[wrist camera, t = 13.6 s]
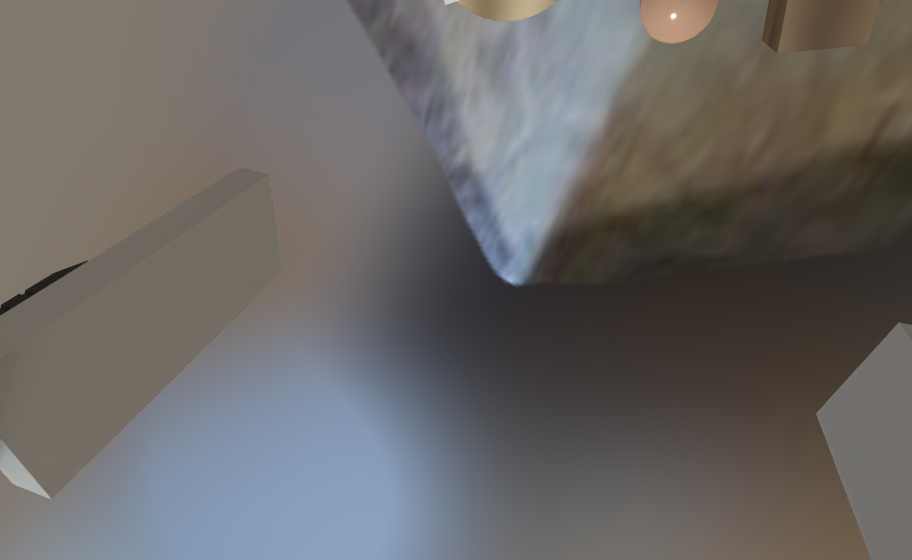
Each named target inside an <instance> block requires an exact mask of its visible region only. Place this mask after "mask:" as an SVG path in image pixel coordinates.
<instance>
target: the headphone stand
mask: <svg viewBox="0 0 912 560" xmlns="http://www.w3.org/2000/svg"><path fill="white" fill-rule="evenodd" d="M455 1H458V0H444V2H445V5H446V4H449V3H452V2H455Z"/></svg>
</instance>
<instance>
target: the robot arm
mask: <svg viewBox="0 0 912 560" xmlns="http://www.w3.org/2000/svg"><path fill="white" fill-rule="evenodd" d="M283 270H284V266H283V259H282V253H281V247H280V241H279V234H278V228H277V222H276V215H275V209H274V203H273V196H272V190H271V184H270V178H269V174H265V173H261V172H257V171H253V170H248V169H244V168H238V169H237V170H235V171H233V172H232V173H230V174H229V175H227V176H225V177H224V178H222V179H221V180H219V181H217V182H216V183H214V184H212V185H211V186H209V187H208V188H206V189H204V190H203V191H201V192H200V193H198V194H196V195H195V196H193V197H192V198H190V199H188V200H187V201H185V202H183V203H182V204H180V205H178V206H177V207H175V208H174V209H172V210H170V211H169V212H167V213H166V214H164V215H162V216H161V217H159V218H158V219H156V220H154V221H153V222H151V223H149V224H148V225H146V226H145V227H143V228H142V229H140V230H138V231H136V232H135V233H133V234H132V235H130V236H128V237H127V238H125V239H123V240H122V241H120V242H119V243H117V244H116V245H114V246H112V247H111V248H109V249H107V250H106V251H104V252H102V253H101V254H100V255H98V256H96V257H94V258H93V259H91V260H89V261H85V262H83V263H80V264H77V265H74V266H72V267H69V268H66V269H63V270H61V271H58V272H55V273H53V274H51V275H50V276H48V277H47V278H45V279H43V280H41V281H40V282H38V283H37V284H35V285H33V286H32V287H30V288H28V289H27V290H25V293H24V294H23V295H21V294H18V295H17V296H15V297H13V298H12V299H10V300H8V301H7V302H5V303H3V304H2V305H1V308H0V470H1V471H2V472H3V473H4V474H5V475H6V476H7V478H8V479H10V481H11V482H12V483H13V484H15V485H17V486H20V487H22V488H25V489H27V490H30V491H32V492H35V493H37V494H40V495H42V496H45V497H47V498H50V499H53V497H55V496H56V495H57V494H58V493H59V492H60V491H61V490H62V489H63V488H64V487H65V486H66V485H67V484H68V483H69V482H70V481H71V480H72V479H73V478H74V477H75V476H76V475H77V474H78V473H79V472H80V471H81V470H82V469H83V468H84V467H85V466H86V465H87V464H88V463H89V462H90V461H91V460H92V459H93V458H94V457H95V456H96V455H97V454H98V453H99V452H100V451H101V450H102V449H103V448H104V447H105V446H106V445H107V444H108V443H109V442H110V441H111V440H112V439H113V438H114V437H115V436H116V435H117V434H118V433H119V432H120V431H121V430H122V429H123V428H124V427H125V426H126V425H127V424H128V423H129V422H130V421H131V420H132V419H133V418H134V417H135V416H136V415H137V414H138V413H139V412H140V411H141V410H142V409H144V407H146V406H147V405H148V404H149V403H150V402H151V401H152V400H153V399H154V398H155V397H156V396H157V395H158V394H159V393H160V392H161V391H162V390H163V389H164V388H165V387H166V386H167V384H169V383H170V382H171V381H172V380H173V379H174V378H175V377H176V376H177V375H178V374H179V373H180V372H181V371H182V370H183V369H184V368H185V367H186V366H187V365H188V364H189V363H190V362H191V361H192V360H193V359H194V358H195V357H196V356H197V355H198V354H199V353H200V352H201V351H202V350H203V349H204V348H205V347H206V346H207V345H208V344H209V343H210V342H211V341H212V340H213V339H214V338H215V337H216V336H217V335H218V334H219V333H220V332H221V331H222V330H223V329H224V328H225V327H226V326H227V325H228V324H229V323H230V322H231V321H232V320H233V319H234V318H235V317H236V316H237V315H239V313H240V312H242V310H243V309H245V308H246V307H247V306H248V305H249V304H250V303H251V302H252V301H253V299H255V298H256V297H257V296H258V295H259V294H260V293H261V292H262V291H263V290H264V289H265V288H266V287H267V286H268V285H269V284H270V283H271V282H272V281H273V280H274V279H275V278H276V277H277V276H278V275H279V274H280V273H281V272H282V271H283ZM816 414H817V417H818V420H819V422H820V425H821V428H822V430H823V433H824V435H825V438H826V441H827V443H828V446H829V449H830V451H831V454H832V457H833V459H834V462H835V465H836V467H837V470H838V472H839V475H840V478H841V481H842V483H843V486H844V489H845V491H846V493H847V496H848V499H849V502H850V504H851V507H852V510H853V512H854V515H855V518H856V520H857V523H858V525H859V528H860V531H861V534H862V536H863V539H864V542H865V544H866V547H867V550H868V552H869V555H870V557H871V560H912V325H907V324H903V323H898V324H897V325H896V326H895V328H894V329H893V330H892V331H891V332H890V333H889V334H888V335H887V336H886V337H885V339H884V340H883V341H882V342H881V343H880V344H879V345H878V346H877V347H876V348H875V350H874V351H873V352H872V353H871V354H870V355H869V356H868V357H867V358H866V359H865V361H864V362H863V363H862V364H861V365H860V366H859V367H858V368H857V369H856V370H855V372H854V373H853V374H852V375H851V376H850V377H849V378H848V379H847V381H845V383H844V384H843V385H842V386H841V387H840V388H839V389H838V390H837V391H836V392H835V394H834V395H833V396H832V397H831V398H830V399H829V400H828V401H827V402H826V403H825V405H824V406H823V407H822V408H821V409H820V410H819V411H818V412H817V413H816Z"/></svg>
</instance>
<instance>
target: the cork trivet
mask: <svg viewBox="0 0 912 560" xmlns="http://www.w3.org/2000/svg"><path fill="white" fill-rule="evenodd" d="M557 1H558V0H458V1H457V2H458V3H459V4H460V5H462V6H463V7H464V8H465V9H467V10H469V11H470V12H472V13H474V14H476V15H478V16H481V17H483V18H486V19H490V20H495V21H516V20H521V19H526V18H528V17H531V16H534V15H536V14H538V13H540V12H542V11H544V10H546V9H547V8H549V7H550V6H552V5H553V4H554V3H556V2H557Z"/></svg>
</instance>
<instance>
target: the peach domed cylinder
mask: <svg viewBox="0 0 912 560" xmlns="http://www.w3.org/2000/svg"><path fill="white" fill-rule="evenodd" d="M718 2H719V0H640V10H641V18H642V22H643V25H644V27H645V29H646V31H647V32H648V33H649V34H650V35H651V36H652V37H653V38H655V39H656V40H658V41H661V42H665V43H679V42H683V41H686V40H688V39H690V38H692V37H694V36H696V35H697V34H698V33H700V32H701V31H702V30H703V29H704V28H705V27H706V26H707V25H708V23H709V22H710V21H711V19H712V17H713V16H714V14H715V11H716V9H717V6H718Z"/></svg>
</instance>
